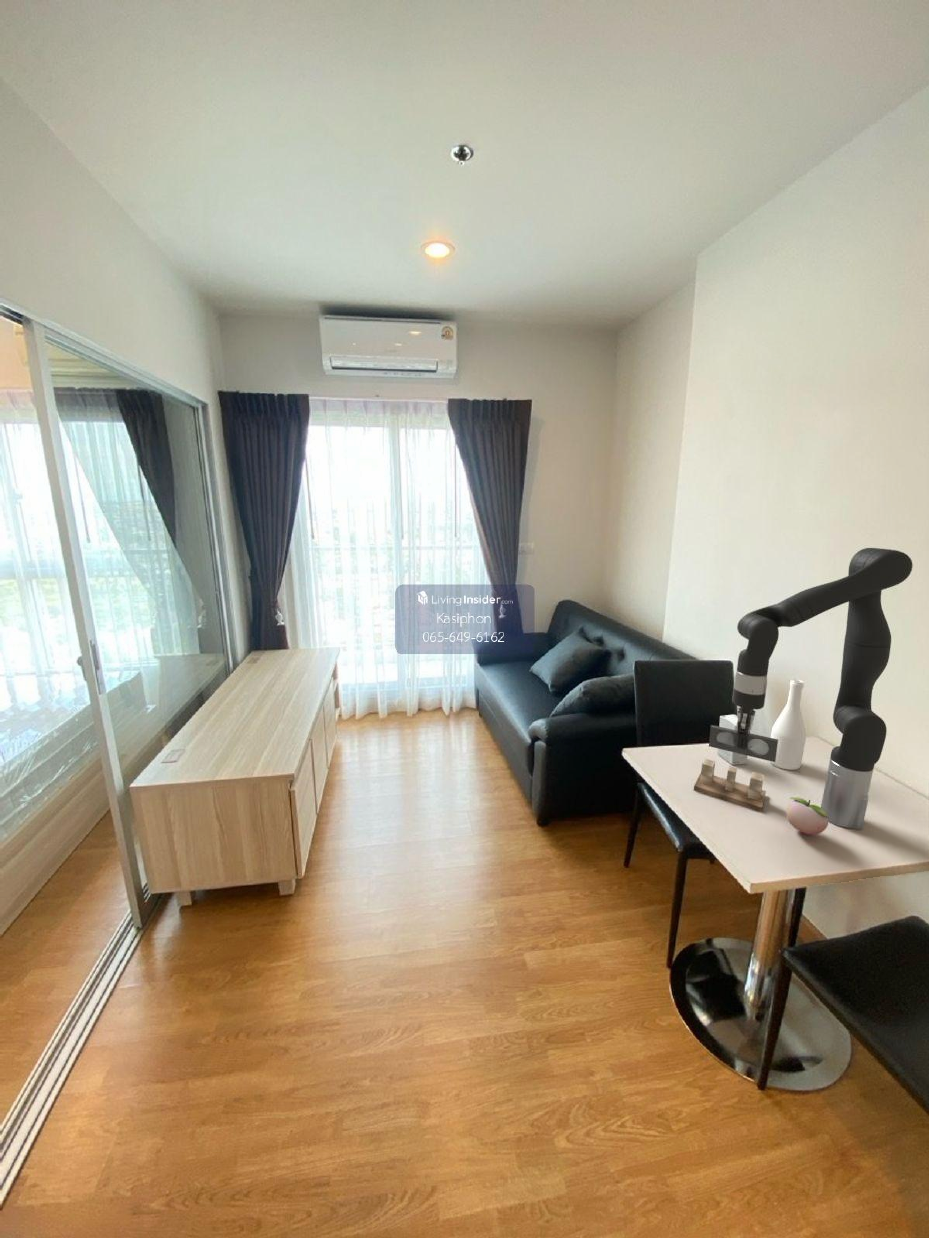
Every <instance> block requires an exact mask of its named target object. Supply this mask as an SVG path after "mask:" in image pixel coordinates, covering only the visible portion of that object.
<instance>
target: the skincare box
mask: <svg viewBox="0 0 929 1238" xmlns="http://www.w3.org/2000/svg"><path fill="white" fill-rule="evenodd" d="M737 721H738V718H737V715H736V714H728V715H727V714H726V715H720V716H719V726H718V727H723V728H728V729H732V730H737V731H738V727H737ZM716 749H717V750H716V755H718V756H719V757H721V758H722V759H724V761H726V762H727V763H728V764H730V765H746V764H748V756H747V755H743V754H739V753H734V752H730V751H726V750H722V749H718V748H716Z"/></svg>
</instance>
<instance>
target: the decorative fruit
mask: <svg viewBox="0 0 929 1238" xmlns="http://www.w3.org/2000/svg"><path fill="white" fill-rule="evenodd" d="M789 799H791V800H792V801H790V802H789V804H787V807H786V811H785V812H786V814H785V815H786V817H787V820H788V823H789V824H790V825H791V826H792V827H793V828H794V829H795V830H797V831H800V832H801V833H803V834H806V835H810V836H811V835H812V836H813V835H815V836H816V835H819V834H821V833H822V832H824V831H825V830H826V829H827V828H828V826H829V821H828V819H829V818H828V816H827V814H826V813H825V811H824V810H823V809H822V808H821V806H819V805H817V804H815V803H814V804H813V803H811V800H810V799H808V801H807V800H805V798H802V797H799V796H794V797H793V796H791V797H789Z"/></svg>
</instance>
